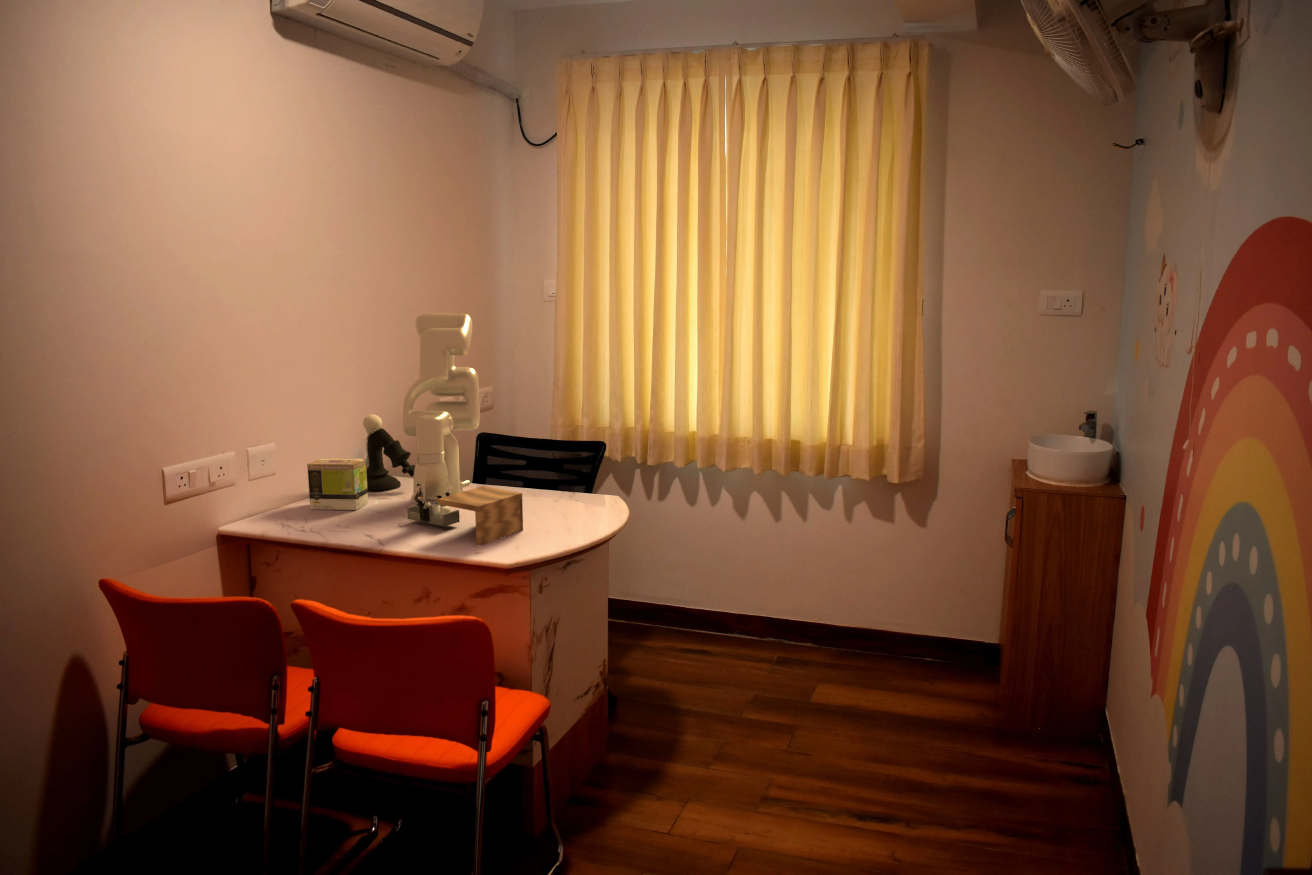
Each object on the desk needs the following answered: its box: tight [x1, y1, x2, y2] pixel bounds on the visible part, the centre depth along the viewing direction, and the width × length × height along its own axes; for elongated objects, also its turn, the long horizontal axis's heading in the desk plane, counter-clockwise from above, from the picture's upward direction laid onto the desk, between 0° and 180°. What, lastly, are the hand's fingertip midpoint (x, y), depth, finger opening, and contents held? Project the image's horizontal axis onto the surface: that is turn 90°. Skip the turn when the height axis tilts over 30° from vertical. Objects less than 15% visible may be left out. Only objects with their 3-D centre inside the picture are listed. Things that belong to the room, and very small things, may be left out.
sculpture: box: [362, 414, 416, 493], centre depth 309 cm, size 15×24×25 cm, turn 68°
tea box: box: [306, 457, 369, 511], centre depth 286 cm, size 15×10×15 cm, turn 84°
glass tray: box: [406, 500, 461, 528], centre depth 267 cm, size 6×15×5 cm, turn 58°
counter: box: [438, 485, 524, 546], centre depth 258 cm, size 18×15×11 cm
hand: (433, 517), depth 267 cm, fingers closed on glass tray, 6 cm apart
